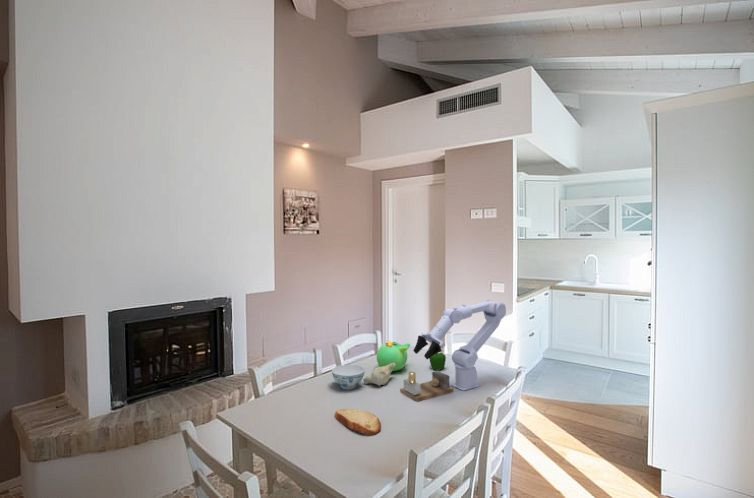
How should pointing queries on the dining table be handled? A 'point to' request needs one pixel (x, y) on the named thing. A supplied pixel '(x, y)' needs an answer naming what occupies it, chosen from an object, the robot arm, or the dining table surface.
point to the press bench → (432, 387)
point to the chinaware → (348, 375)
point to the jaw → (412, 384)
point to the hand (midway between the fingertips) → (420, 355)
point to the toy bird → (392, 354)
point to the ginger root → (380, 375)
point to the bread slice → (359, 421)
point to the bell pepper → (437, 361)
